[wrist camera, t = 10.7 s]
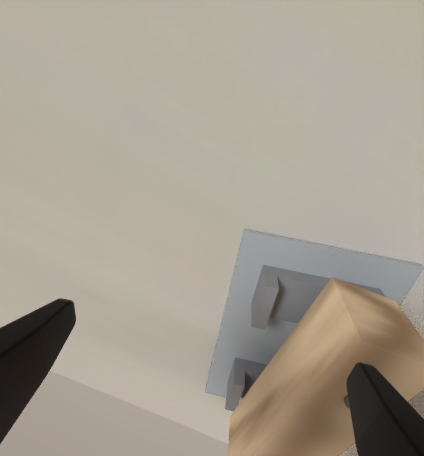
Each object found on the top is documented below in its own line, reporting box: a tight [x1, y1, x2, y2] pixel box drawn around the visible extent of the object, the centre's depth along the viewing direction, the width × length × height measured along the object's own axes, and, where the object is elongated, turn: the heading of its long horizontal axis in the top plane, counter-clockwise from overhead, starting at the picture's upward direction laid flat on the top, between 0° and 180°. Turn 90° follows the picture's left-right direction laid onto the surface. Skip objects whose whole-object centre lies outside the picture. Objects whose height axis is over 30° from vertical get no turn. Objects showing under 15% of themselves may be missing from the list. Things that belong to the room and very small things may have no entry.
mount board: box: [205, 229, 424, 411], centre depth 22 cm, size 13×20×3 cm, turn 171°
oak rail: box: [228, 277, 424, 456], centre depth 19 cm, size 4×18×5 cm, turn 160°
